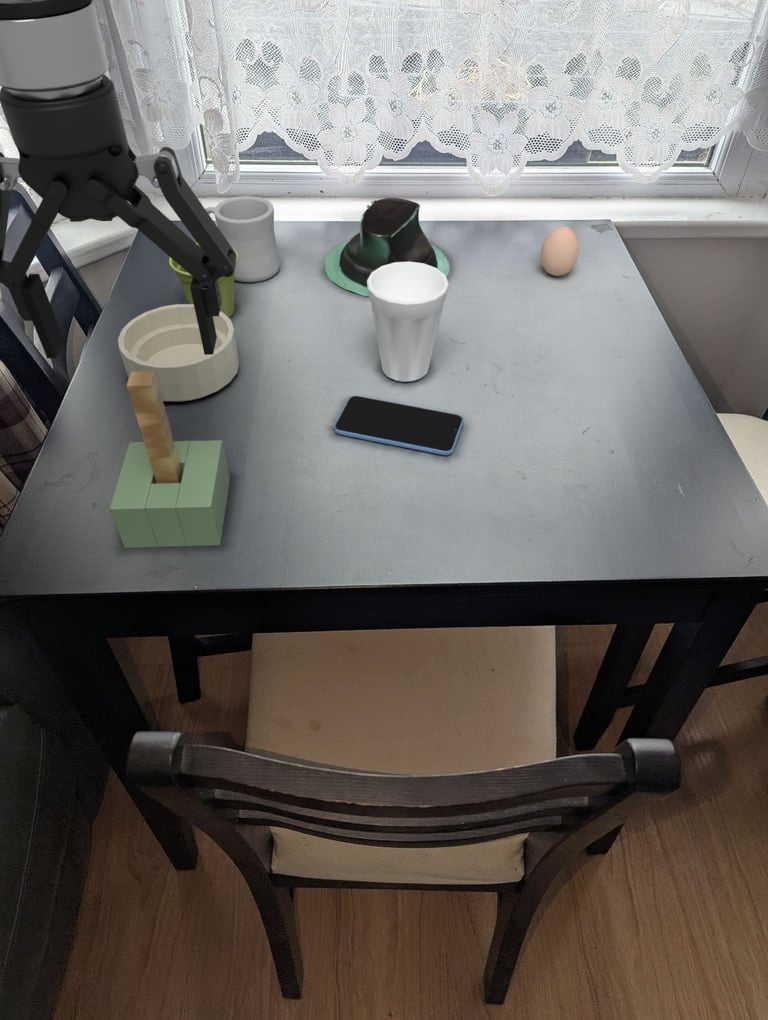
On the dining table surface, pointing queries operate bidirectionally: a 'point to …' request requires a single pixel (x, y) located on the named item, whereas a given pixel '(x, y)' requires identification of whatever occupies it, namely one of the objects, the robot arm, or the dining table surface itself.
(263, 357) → the dining table surface
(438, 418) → the smartphone
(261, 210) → the mug
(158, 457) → the stirring stick
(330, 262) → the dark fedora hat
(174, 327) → the bowl
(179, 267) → the plant pot
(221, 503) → the holder
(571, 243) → the egg
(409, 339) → the cup
